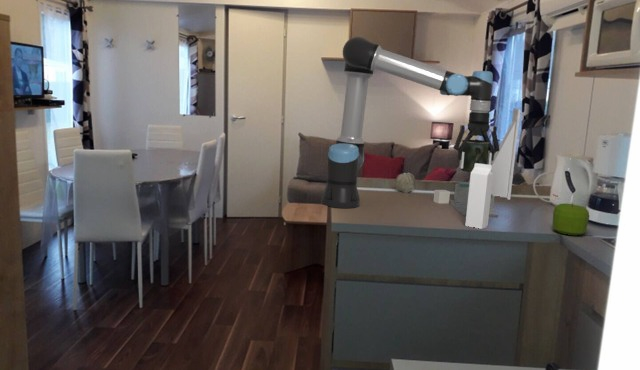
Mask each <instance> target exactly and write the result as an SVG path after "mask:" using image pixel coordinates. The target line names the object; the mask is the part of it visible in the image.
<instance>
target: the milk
mask: <svg viewBox="0 0 640 370" xmlns="http://www.w3.org/2000/svg"><path fill="white" fill-rule="evenodd" d="M491 167H492V166H491V165H487V164H479V163H475V165H474V169H473V170H472V172H470V177H469V183H470V185H469V194H468V204H467V214H466V216H465V227H468V226H469V227H468V228H473V227H475V228H474V229H478V228H479V230H483V229H485V228H487V227H488V226H489V219H490V217H489V210H490V201H491V192H492V183H493V172H492V170H491Z"/></svg>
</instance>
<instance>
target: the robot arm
mask: <svg viewBox="0 0 640 370" xmlns="http://www.w3.org/2000/svg"><path fill="white" fill-rule="evenodd" d="M342 57H343V60H344V71H343V72H344V74H345V75H346V77H347V78H346V87H345V94H344V104H343V111H342V112H343V113H342V114H343V115H342V121H341V123H342V124H341V131H340V136H339V137H337V139H336V143H335V144H332V145H330V147H329V148H328V153H327V157H328V158H327V159H328V160H327V175H326V179H327V181H326V186H325V188H324V191H323V193H322V197H321V204H322V205H323V206H327V207H330V208H337V209H352V208H353V209H354V208H358V207H360V204H361V198H360V195H359V189H358V186H357V185H358V184H357V181H358V170H360V169H361V167H362V166H363V164H364V161H365V154H364V151H365V141H364V139H363V138H362V135H363V127H364V119H365V110H366V104H367V94H368V86H369V79H370V78H371V77H372V76H373V75H374V71H375V70H378V71H380V72H384V73H386V74H390V75H393V76H396V77H398V78H401V79H404V80H407V81H411V82H412V83H413V82H414V83H416V84H420V85H423V86H425V87H427V88H428V87H429V88H432V89H434V90H437V91H439V93H440V95H443V96H447V97H448V96H455V97H458V96H461V97H462V96H465V97H466V96H467V97H468V96H469V97H470V104H469V111H471V112H469V115H468V116H469V117H468V124H467V125H463V124H461V125H460V127H459V133H458V135H457V137H456V140H455V142H454V145H453V149H454V150H455V151H457V159H458V161H459V168H460V170H461V169H463V163H464V152H463V149H464V148H465V146H466V145H467V143H466V141H468V142H469V141H470V140H472V138H473V137H475V136H476V137H482V139H483V141H485V142H490V143H489V150H488V160H487V165H491V161H493V160H494V155H495V153H496V152H497V151H499V150H500V149H499V146H500V144H499V141H498V136H497V135H498V134H497V130H498V129H497V126H495V125H493V126H492V125H490V124H489V123H490V111H491V105H492V103H491V102H492V92H493V91H492V90H493V84H494V83H493V81H494V79H493V74H494V73H493V72H492V71H488V70H486V71H485V70H474V71H473V72H472V75H469V76H467V75H463V74H461V73H455V72H452V71H449V70H446V69H443V68H440V67H438V66H434V65H431V64H429V63H425V62H422V61H419V60H417V59H413V58H410V57H407V56H403V55H402V54H399V53H394V52H391V51H388V50H386V49H384V48H382V46H381V45H380V44H377V43H373V42H372V41H370V40H368V39H367V38H365V37H361V36H354V37H351V38H350V39H348V40H347V41H346V42H345V44H344V45H343V47H342ZM467 130H468V131H469V132H468V133H467V135H466V137H465V138H464V139H463V137H464V135H465V132H466V131H467ZM488 132H490V133H491V138H492V142H491V139H490V138H489V136H488ZM462 140H464V141H465V142H462ZM461 142H462V143H461ZM492 143H493V144H492Z"/></svg>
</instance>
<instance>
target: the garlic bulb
mask: <svg viewBox="0 0 640 370" xmlns="http://www.w3.org/2000/svg"><path fill="white" fill-rule="evenodd" d="M393 184H394V185H395V189H396V191H398V192H401V193H406V194H407V193H411V192H412V191H413V190H414V189H415V185H416V178H415V176H414V174H412V173H410V172H403V173H399V174H398V175H397V177H396V178H395V180H394V181H393Z"/></svg>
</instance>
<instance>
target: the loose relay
mask: <svg viewBox="0 0 640 370" xmlns="http://www.w3.org/2000/svg"><path fill="white" fill-rule="evenodd" d="M433 192H434V193H433V202H434V203H436V204H450V203H449V200H450V195H451V192H450V191H449V190H446V189H435V190H434V191H433Z"/></svg>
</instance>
